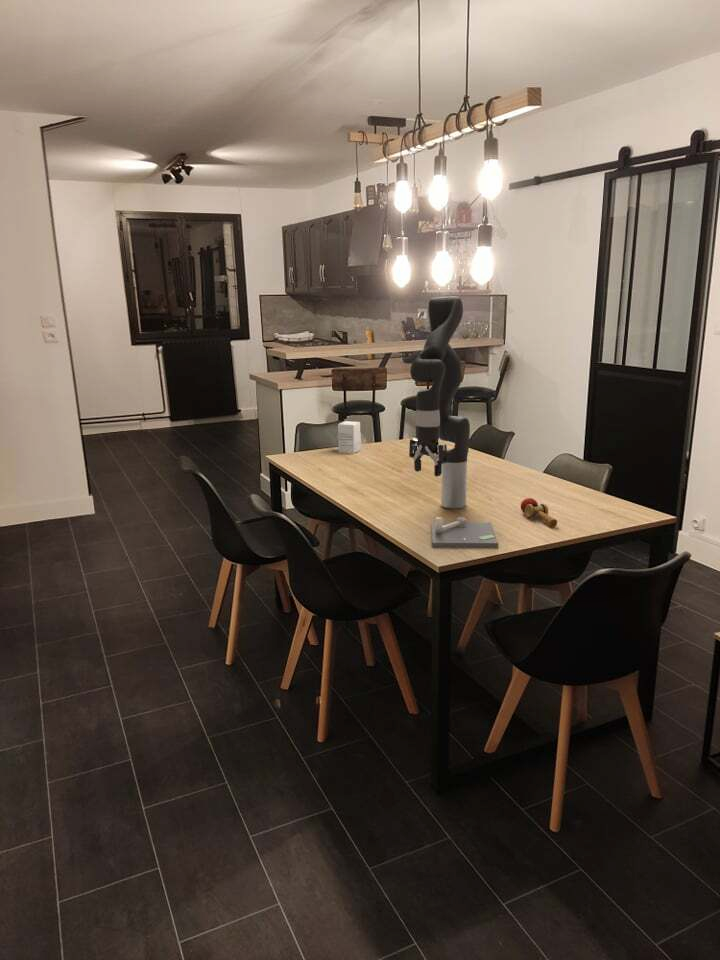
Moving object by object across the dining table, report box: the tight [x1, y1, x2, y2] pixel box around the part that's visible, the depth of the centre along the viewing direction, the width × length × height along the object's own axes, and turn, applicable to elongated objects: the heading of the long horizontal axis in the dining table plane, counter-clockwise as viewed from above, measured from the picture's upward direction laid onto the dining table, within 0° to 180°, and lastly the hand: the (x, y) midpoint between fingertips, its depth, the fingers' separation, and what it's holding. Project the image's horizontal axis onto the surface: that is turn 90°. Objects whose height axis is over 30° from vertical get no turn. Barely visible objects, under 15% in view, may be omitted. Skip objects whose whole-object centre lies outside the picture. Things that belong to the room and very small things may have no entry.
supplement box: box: [337, 420, 362, 454], centre depth 340 cm, size 9×9×15 cm
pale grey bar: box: [434, 516, 467, 533], centre depth 219 cm, size 14×3×5 cm, turn 131°
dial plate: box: [430, 521, 499, 549], centre depth 217 cm, size 20×20×2 cm
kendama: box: [520, 497, 558, 528], centre depth 232 cm, size 8×6×18 cm
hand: (427, 473), depth 216 cm, fingers open, 8 cm apart
